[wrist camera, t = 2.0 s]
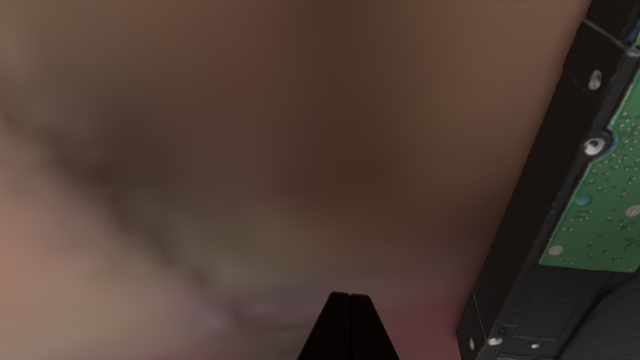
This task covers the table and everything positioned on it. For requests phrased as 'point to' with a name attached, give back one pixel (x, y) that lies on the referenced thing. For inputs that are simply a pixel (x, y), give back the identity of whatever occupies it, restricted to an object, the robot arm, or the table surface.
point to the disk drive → (572, 215)
